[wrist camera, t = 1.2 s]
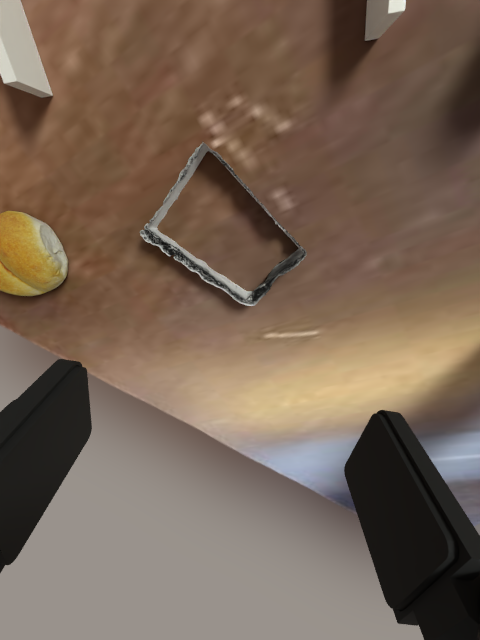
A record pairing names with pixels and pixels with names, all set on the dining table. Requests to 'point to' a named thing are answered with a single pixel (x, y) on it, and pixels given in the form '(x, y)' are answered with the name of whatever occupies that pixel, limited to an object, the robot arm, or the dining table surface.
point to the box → (27, 70)
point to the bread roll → (29, 256)
